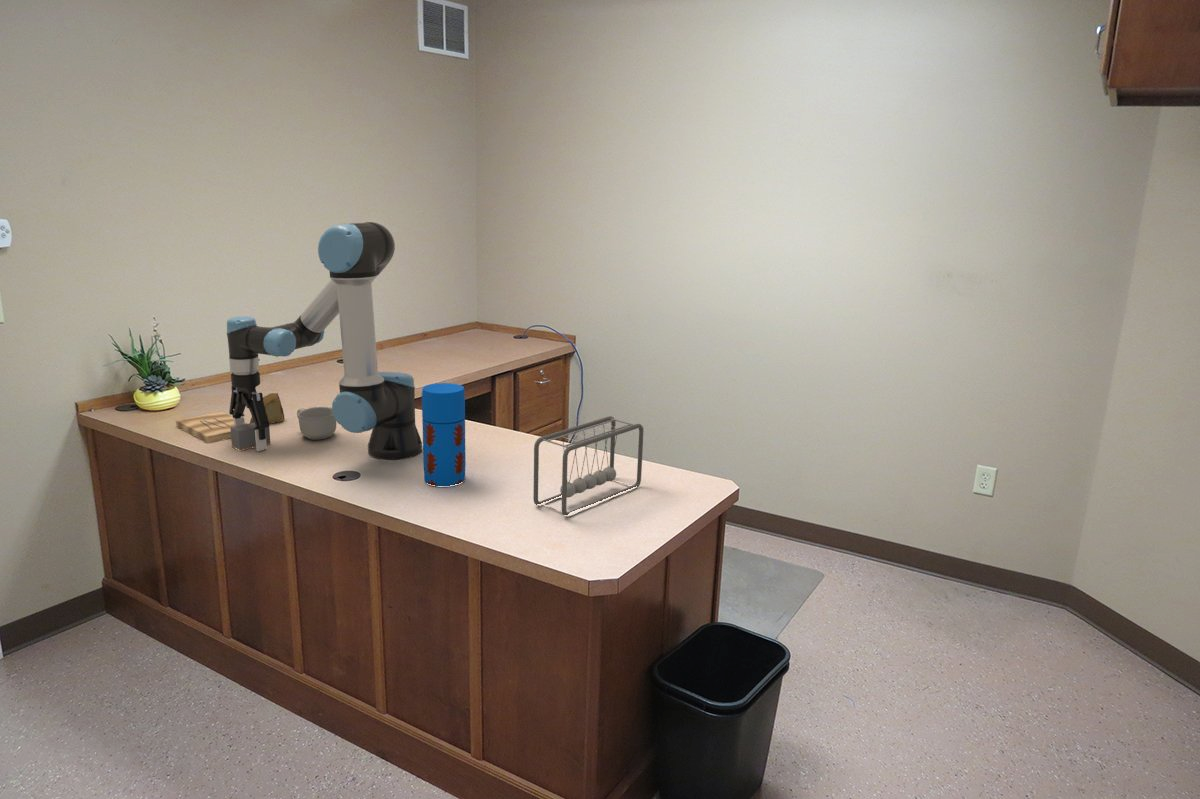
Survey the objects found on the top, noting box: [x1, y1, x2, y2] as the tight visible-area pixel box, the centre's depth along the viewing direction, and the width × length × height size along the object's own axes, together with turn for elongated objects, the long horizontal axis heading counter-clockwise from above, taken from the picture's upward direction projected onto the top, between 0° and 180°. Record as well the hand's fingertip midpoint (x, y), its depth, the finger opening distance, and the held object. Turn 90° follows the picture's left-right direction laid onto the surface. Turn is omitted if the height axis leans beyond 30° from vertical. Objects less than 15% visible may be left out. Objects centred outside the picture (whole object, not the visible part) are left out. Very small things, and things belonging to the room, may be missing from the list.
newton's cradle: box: [533, 415, 645, 516], centre depth 205 cm, size 30×10×18 cm, turn 140°
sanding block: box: [230, 422, 271, 451], centre depth 236 cm, size 5×9×6 cm, turn 138°
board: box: [175, 411, 248, 444], centre depth 249 cm, size 22×14×2 cm, turn 48°
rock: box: [249, 392, 285, 424], centre depth 258 cm, size 11×9×10 cm
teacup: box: [296, 406, 337, 441], centre depth 246 cm, size 14×11×8 cm
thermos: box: [421, 382, 467, 486], centre depth 212 cm, size 11×11×25 cm
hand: (251, 444), depth 237 cm, fingers open, 12 cm apart
